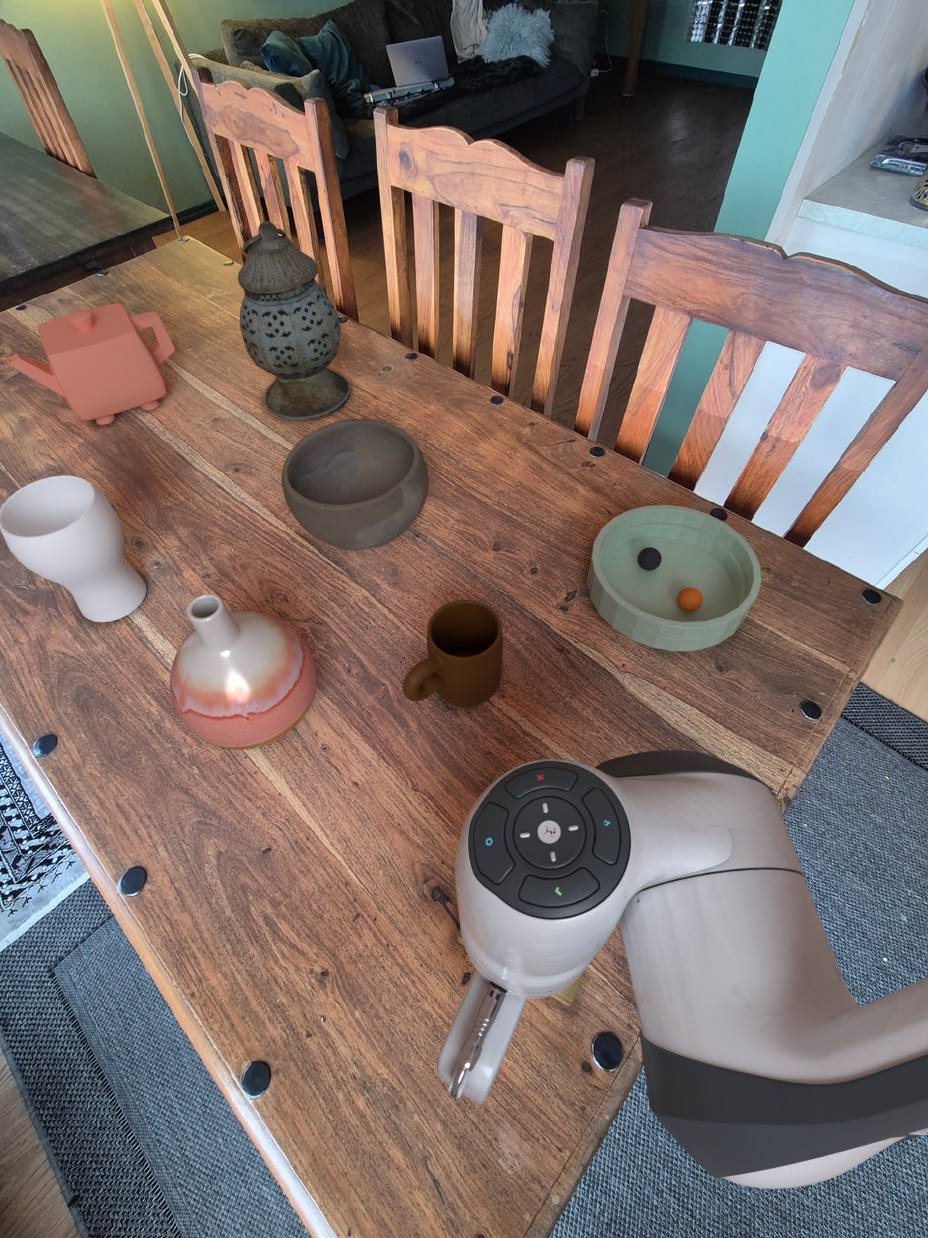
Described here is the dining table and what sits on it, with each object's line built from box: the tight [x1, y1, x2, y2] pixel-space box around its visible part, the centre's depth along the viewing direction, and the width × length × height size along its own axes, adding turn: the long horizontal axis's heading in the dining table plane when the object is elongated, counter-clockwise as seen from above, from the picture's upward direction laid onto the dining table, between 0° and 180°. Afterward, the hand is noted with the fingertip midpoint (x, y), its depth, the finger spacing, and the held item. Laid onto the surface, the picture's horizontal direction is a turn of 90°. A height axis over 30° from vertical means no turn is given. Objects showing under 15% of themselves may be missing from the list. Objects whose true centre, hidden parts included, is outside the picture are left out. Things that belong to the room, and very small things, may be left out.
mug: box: [401, 599, 504, 708], centre depth 65 cm, size 12×8×9 cm, turn 136°
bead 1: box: [638, 547, 662, 571], centre depth 77 cm, size 3×3×3 cm
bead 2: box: [677, 587, 703, 612], centre depth 73 cm, size 3×3×3 cm
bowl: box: [281, 418, 430, 551], centre depth 81 cm, size 17×18×10 cm
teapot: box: [5, 302, 176, 426], centre depth 96 cm, size 22×13×14 cm, turn 121°
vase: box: [169, 593, 318, 751], centre depth 61 cm, size 14×14×18 cm
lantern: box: [237, 220, 351, 422], centre depth 92 cm, size 14×14×25 cm
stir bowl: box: [586, 504, 762, 652], centre depth 74 cm, size 19×19×5 cm
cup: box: [0, 474, 147, 623], centre depth 71 cm, size 11×11×15 cm
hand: (519, 955), depth 51 cm, fingers open, 4 cm apart
